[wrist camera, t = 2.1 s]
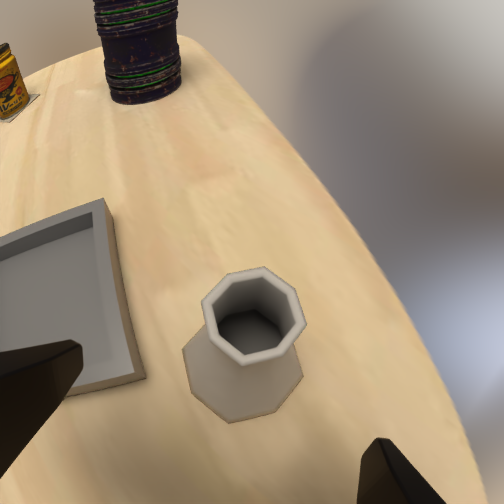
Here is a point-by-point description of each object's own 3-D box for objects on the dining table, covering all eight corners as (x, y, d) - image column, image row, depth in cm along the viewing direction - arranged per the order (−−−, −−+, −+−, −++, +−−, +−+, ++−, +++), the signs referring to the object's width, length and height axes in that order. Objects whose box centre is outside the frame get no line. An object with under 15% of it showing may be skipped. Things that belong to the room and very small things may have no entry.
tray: (-1, 407, 14) (-22, 402, 12) (-7, 261, 20) (-22, 247, 17) (146, 377, 17) (134, 372, 15) (112, 217, 23) (103, 197, 21)
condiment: (10, 122, 31) (-15, 59, 20) (-12, 122, 31) (-35, 68, 21) (40, 94, 34) (22, 34, 24) (15, 96, 35) (-3, 43, 25)
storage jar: (115, 78, 35) (100, -11, 22) (180, 66, 37) (176, -25, 24) (105, 112, 30) (82, 2, 18) (184, 97, 32) (178, -18, 19)
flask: (163, 344, 18) (107, 274, 9) (258, 291, 20) (280, 191, 12) (223, 442, 15) (215, 474, 7) (321, 379, 18) (402, 340, 9)
